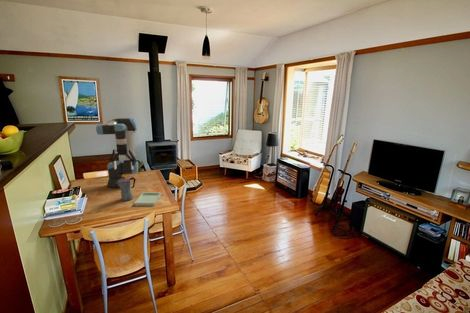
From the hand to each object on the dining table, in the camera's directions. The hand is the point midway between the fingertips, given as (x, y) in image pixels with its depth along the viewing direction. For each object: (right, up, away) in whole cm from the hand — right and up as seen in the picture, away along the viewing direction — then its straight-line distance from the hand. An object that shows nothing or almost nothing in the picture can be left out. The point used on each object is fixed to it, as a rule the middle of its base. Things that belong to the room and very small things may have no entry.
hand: (124, 169), depth 195 cm
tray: (+18, -26, +6) cm, 32 cm away
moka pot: (0, -26, +7) cm, 27 cm away
